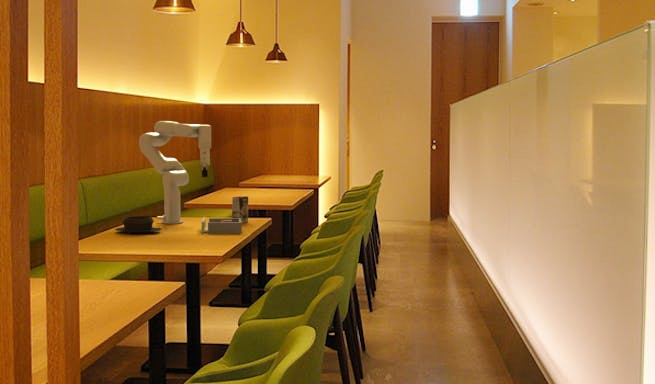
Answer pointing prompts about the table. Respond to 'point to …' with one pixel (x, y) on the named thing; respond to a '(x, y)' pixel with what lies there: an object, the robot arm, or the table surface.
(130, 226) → the casserole
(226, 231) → the frame
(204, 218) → the tray
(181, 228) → the table surface
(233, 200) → the coffee box
